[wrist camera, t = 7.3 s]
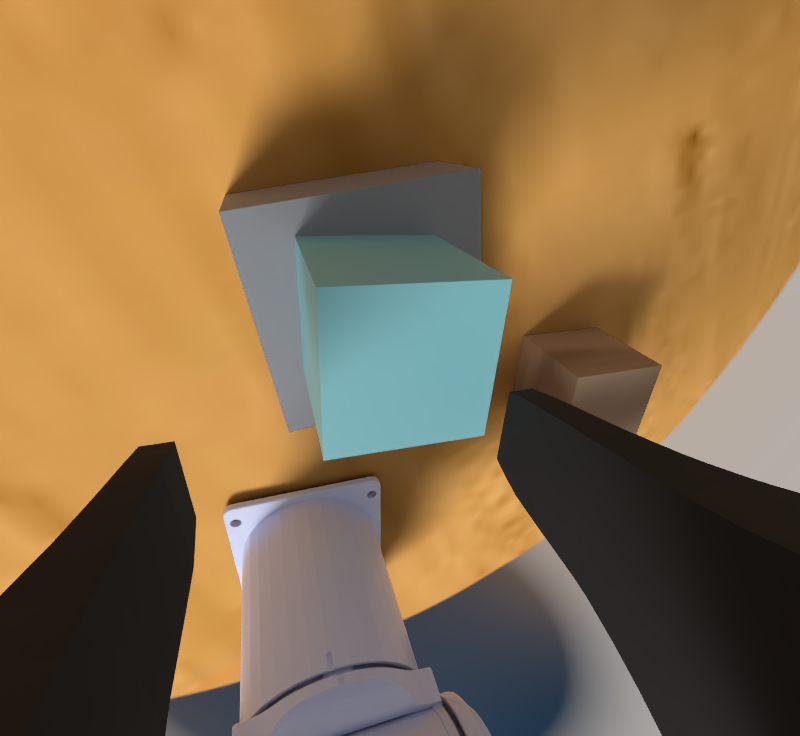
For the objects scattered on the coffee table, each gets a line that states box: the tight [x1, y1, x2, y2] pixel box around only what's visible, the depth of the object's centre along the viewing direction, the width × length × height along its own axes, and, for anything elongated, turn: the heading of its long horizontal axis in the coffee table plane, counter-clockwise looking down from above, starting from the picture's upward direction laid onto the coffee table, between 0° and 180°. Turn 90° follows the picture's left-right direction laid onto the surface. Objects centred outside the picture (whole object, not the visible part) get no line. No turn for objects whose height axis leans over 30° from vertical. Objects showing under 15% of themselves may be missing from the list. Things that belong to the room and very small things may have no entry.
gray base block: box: [219, 161, 482, 433], centre depth 16 cm, size 8×8×4 cm
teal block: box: [295, 235, 513, 461], centre depth 12 cm, size 4×4×5 cm
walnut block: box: [513, 327, 662, 434], centre depth 22 cm, size 4×4×4 cm
